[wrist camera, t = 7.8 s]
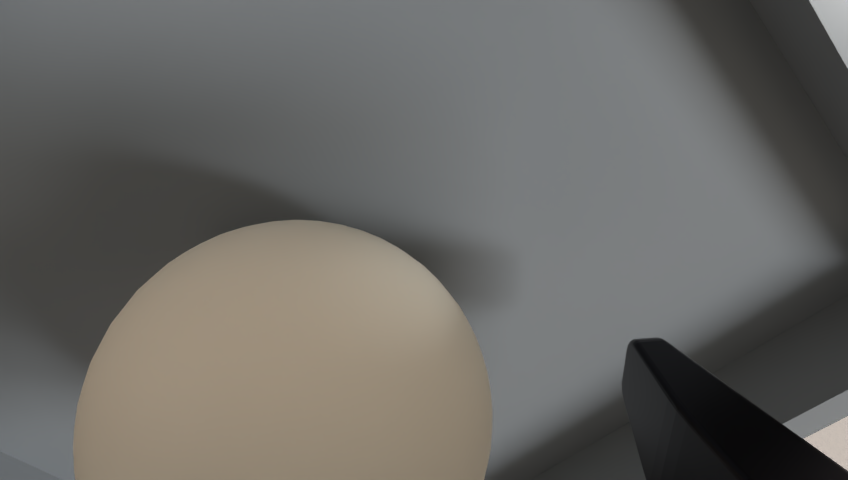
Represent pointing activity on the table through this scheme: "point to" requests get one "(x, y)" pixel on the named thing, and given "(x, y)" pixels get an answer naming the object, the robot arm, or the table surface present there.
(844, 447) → the table surface
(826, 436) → the table surface
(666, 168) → the tray
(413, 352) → the ball
